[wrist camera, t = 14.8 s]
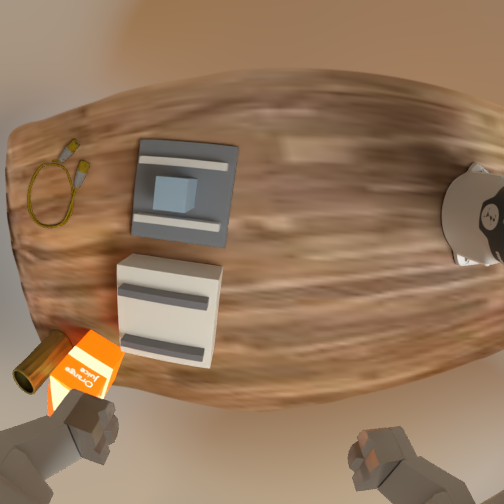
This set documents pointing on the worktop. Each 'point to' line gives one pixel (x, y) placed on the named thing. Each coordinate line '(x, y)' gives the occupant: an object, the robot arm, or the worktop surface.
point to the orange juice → (85, 369)
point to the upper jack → (168, 308)
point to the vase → (42, 362)
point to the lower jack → (206, 199)
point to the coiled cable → (78, 180)
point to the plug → (174, 193)
